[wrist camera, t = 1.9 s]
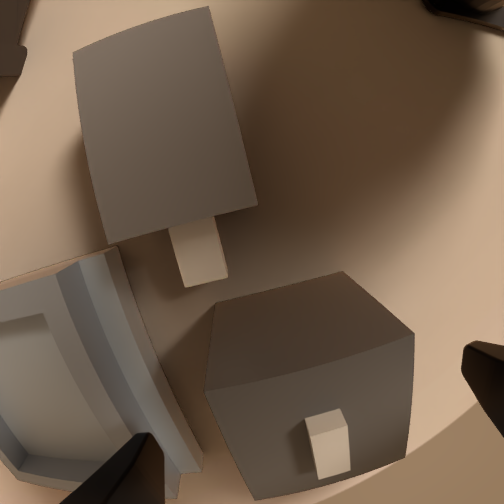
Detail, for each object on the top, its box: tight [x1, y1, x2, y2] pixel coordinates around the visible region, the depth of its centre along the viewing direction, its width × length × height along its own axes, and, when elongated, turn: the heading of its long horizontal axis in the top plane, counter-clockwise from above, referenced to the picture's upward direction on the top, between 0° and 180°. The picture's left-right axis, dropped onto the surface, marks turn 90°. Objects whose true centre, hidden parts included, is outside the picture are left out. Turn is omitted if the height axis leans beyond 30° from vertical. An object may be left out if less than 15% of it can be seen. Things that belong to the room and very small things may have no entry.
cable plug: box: [73, 6, 258, 288], centre depth 8 cm, size 4×7×4 cm, turn 13°
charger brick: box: [204, 271, 415, 500], centre depth 8 cm, size 4×4×6 cm
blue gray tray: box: [0, 246, 204, 499], centre depth 10 cm, size 12×10×3 cm
